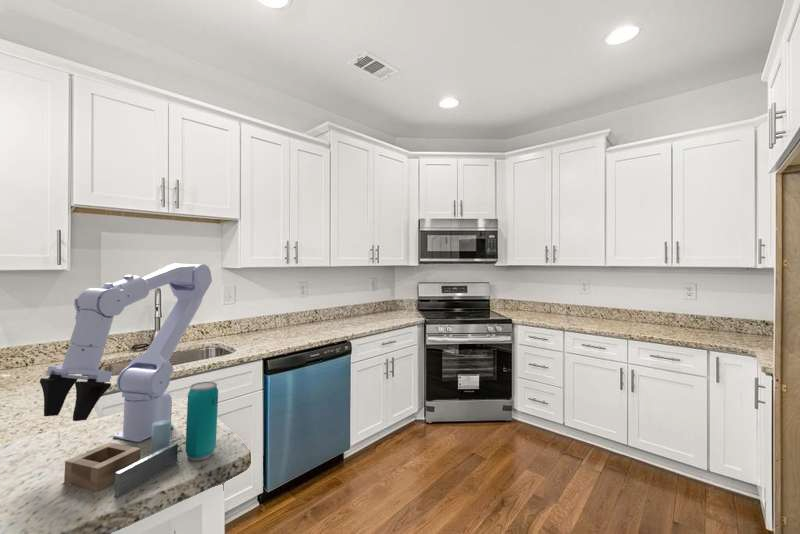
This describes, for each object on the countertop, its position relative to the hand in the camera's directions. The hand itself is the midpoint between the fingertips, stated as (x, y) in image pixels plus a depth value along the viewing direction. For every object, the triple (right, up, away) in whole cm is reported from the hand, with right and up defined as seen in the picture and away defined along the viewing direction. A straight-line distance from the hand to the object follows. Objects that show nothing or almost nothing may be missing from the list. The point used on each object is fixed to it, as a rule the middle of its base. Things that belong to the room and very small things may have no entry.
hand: (65, 418), depth 71 cm
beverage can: (+22, -11, +8) cm, 26 cm away
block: (+8, -10, -1) cm, 13 cm away
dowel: (+14, -11, +7) cm, 19 cm away
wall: (+17, -11, -1) cm, 20 cm away
